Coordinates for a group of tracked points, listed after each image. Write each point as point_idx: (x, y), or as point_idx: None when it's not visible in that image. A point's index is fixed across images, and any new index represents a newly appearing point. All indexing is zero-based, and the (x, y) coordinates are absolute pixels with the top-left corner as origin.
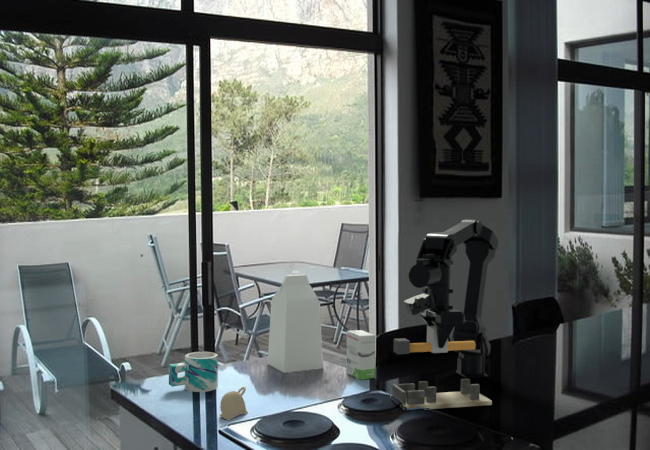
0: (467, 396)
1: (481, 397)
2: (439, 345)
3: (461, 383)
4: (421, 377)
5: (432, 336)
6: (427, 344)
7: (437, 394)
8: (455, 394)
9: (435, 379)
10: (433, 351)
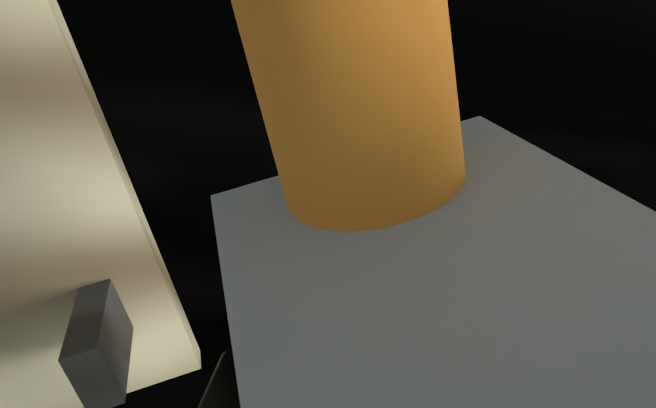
0: (18, 318)
1: (12, 401)
2: (209, 387)
3: (85, 330)
4: (649, 49)
5: (299, 393)
6: (319, 152)
7: (29, 95)
8: (65, 240)
9: (581, 143)
10: (217, 218)
